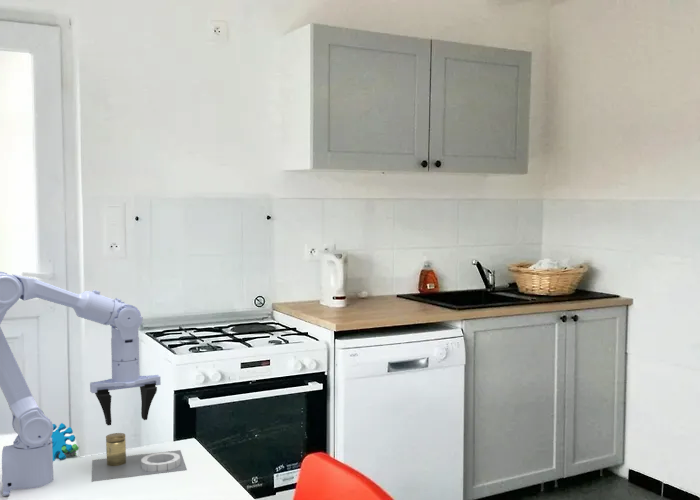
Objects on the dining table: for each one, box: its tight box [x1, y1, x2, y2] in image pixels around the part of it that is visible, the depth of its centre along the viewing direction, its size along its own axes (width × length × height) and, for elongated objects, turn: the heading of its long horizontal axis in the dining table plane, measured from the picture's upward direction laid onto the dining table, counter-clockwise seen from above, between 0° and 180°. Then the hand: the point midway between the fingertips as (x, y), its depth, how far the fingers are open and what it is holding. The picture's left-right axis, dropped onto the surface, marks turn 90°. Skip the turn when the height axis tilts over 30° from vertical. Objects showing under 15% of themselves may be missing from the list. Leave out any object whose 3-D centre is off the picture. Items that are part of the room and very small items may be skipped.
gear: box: [51, 422, 80, 462], centre depth 167 cm, size 11×6×10 cm
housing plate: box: [91, 449, 188, 483], centre depth 159 cm, size 19×14×2 cm
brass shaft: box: [105, 432, 127, 466], centre depth 160 cm, size 4×4×6 cm
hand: (126, 421), depth 160 cm, fingers open, 7 cm apart
